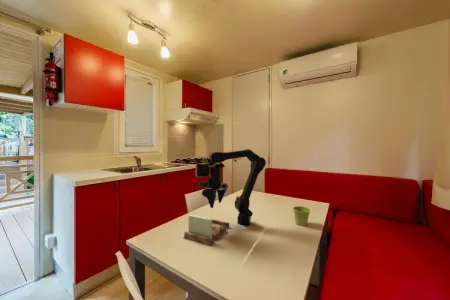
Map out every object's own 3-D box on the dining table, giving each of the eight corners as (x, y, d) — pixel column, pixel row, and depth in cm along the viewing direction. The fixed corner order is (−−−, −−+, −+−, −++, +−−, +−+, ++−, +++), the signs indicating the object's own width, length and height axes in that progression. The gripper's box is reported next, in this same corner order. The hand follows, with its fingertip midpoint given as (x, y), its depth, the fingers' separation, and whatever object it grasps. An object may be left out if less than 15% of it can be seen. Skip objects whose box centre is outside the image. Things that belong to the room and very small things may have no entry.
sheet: (211, 240, 85) (212, 219, 85) (210, 242, 84) (210, 220, 84) (190, 234, 91) (190, 214, 90) (188, 236, 89) (188, 215, 89)
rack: (230, 228, 99) (230, 222, 99) (210, 248, 81) (210, 240, 81) (206, 223, 106) (206, 217, 106) (182, 239, 87) (182, 232, 87)
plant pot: (312, 228, 101) (312, 212, 101) (293, 226, 103) (294, 211, 103) (308, 221, 110) (308, 206, 110) (291, 219, 112) (291, 205, 112)
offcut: (219, 234, 92) (220, 225, 92) (217, 236, 90) (217, 227, 90) (211, 231, 94) (211, 223, 94) (208, 233, 92) (208, 225, 92)
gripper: (210, 172, 110) (211, 198, 111) (192, 177, 93) (193, 208, 94) (228, 173, 105) (228, 200, 106) (212, 179, 88) (212, 212, 89)
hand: (216, 205), depth 99 cm, fingers open, 9 cm apart
